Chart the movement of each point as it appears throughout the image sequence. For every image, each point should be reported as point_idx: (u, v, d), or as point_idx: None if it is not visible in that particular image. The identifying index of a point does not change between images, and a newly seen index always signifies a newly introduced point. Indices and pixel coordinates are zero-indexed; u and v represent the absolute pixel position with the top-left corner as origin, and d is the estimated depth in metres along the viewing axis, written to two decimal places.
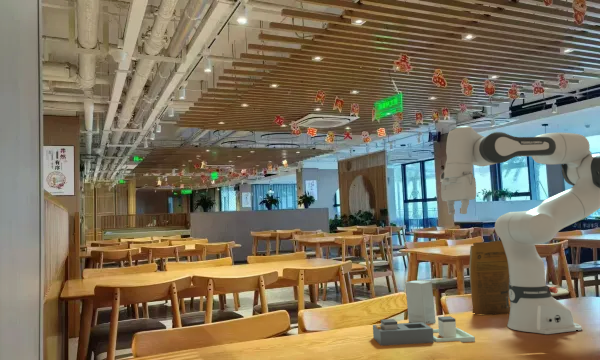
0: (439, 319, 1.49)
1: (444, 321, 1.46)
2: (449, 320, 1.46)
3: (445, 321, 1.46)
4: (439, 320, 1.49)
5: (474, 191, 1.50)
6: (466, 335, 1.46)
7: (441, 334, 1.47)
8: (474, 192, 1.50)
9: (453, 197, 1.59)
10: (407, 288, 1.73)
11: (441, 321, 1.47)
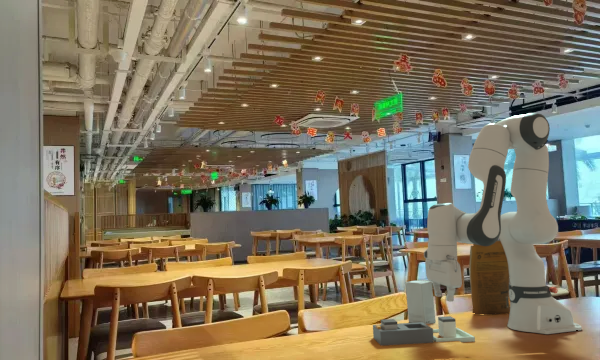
0: (439, 319, 1.49)
1: (444, 321, 1.46)
2: (449, 320, 1.46)
3: (445, 321, 1.46)
4: (439, 320, 1.49)
5: (460, 279, 1.39)
6: (466, 335, 1.46)
7: (441, 334, 1.47)
8: (460, 280, 1.39)
9: (439, 281, 1.48)
10: (407, 288, 1.73)
11: (441, 321, 1.47)
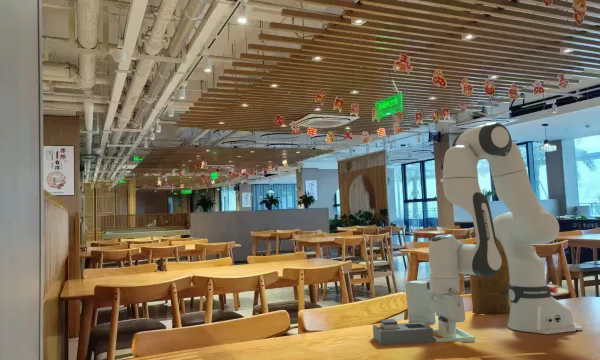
0: (439, 319, 1.49)
1: (444, 321, 1.46)
2: None
3: (445, 321, 1.46)
4: (439, 320, 1.49)
5: (463, 314, 1.39)
6: (466, 335, 1.46)
7: (441, 334, 1.47)
8: (463, 315, 1.39)
9: (442, 314, 1.47)
10: (407, 288, 1.73)
11: (441, 321, 1.47)
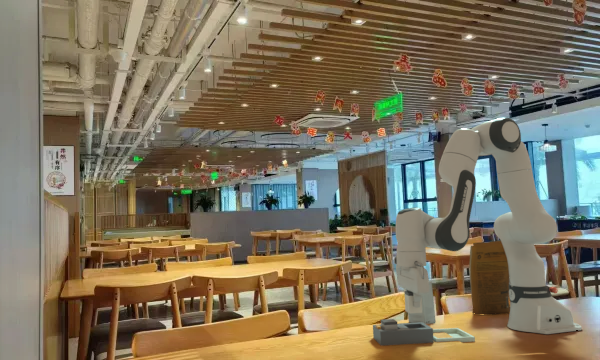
0: (405, 293, 1.46)
1: (410, 295, 1.44)
2: None
3: (411, 295, 1.44)
4: (405, 294, 1.46)
5: (427, 286, 1.36)
6: (466, 335, 1.46)
7: (407, 308, 1.45)
8: (427, 287, 1.36)
9: (408, 288, 1.45)
10: None
11: (407, 295, 1.45)
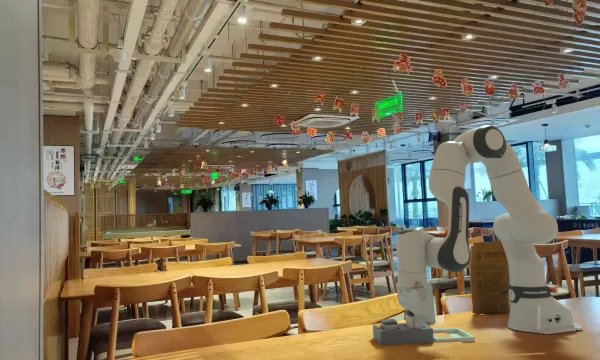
0: (406, 313, 1.46)
1: (410, 315, 1.43)
2: None
3: (411, 315, 1.43)
4: (406, 314, 1.46)
5: (428, 308, 1.36)
6: (466, 335, 1.46)
7: None
8: (428, 309, 1.36)
9: (408, 309, 1.44)
10: None
11: (408, 315, 1.44)
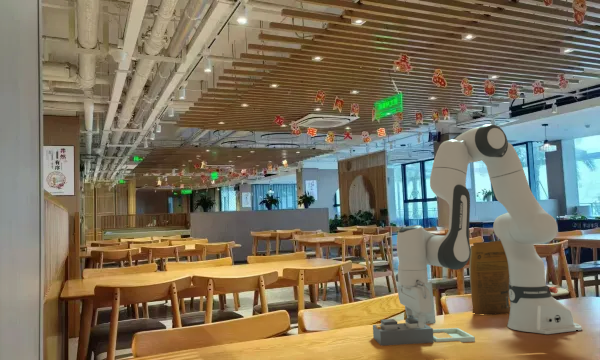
0: (406, 321, 1.46)
1: (411, 323, 1.43)
2: (416, 322, 1.43)
3: (412, 323, 1.43)
4: (406, 322, 1.46)
5: (429, 306, 1.36)
6: (466, 335, 1.46)
7: None
8: (429, 307, 1.36)
9: (409, 307, 1.44)
10: None
11: (408, 323, 1.44)
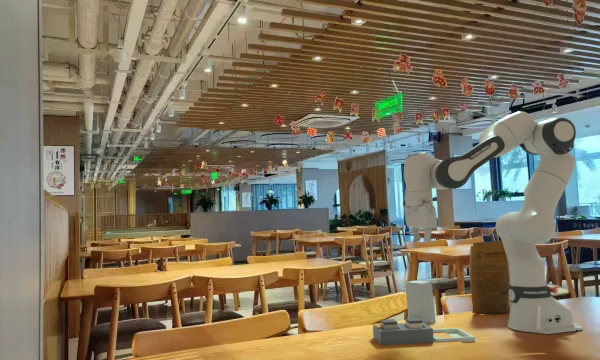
0: (406, 321, 1.46)
1: (411, 323, 1.43)
2: (416, 322, 1.43)
3: (412, 323, 1.43)
4: (406, 322, 1.46)
5: (435, 220, 1.50)
6: (466, 335, 1.46)
7: None
8: (435, 221, 1.50)
9: (416, 225, 1.58)
10: (407, 288, 1.73)
11: (408, 323, 1.44)
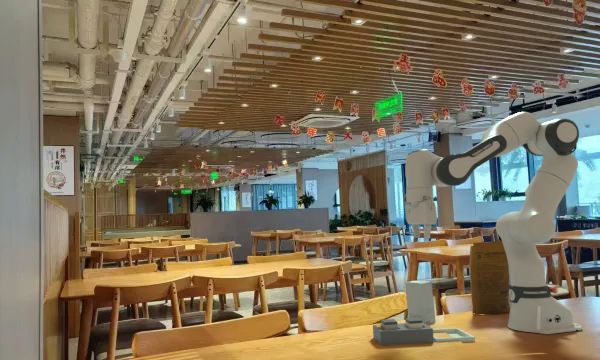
0: (406, 321, 1.46)
1: (411, 323, 1.43)
2: (416, 322, 1.43)
3: (412, 323, 1.43)
4: (406, 322, 1.46)
5: (435, 216, 1.51)
6: (466, 335, 1.46)
7: None
8: (435, 217, 1.51)
9: (417, 222, 1.59)
10: (407, 288, 1.73)
11: (408, 323, 1.44)
